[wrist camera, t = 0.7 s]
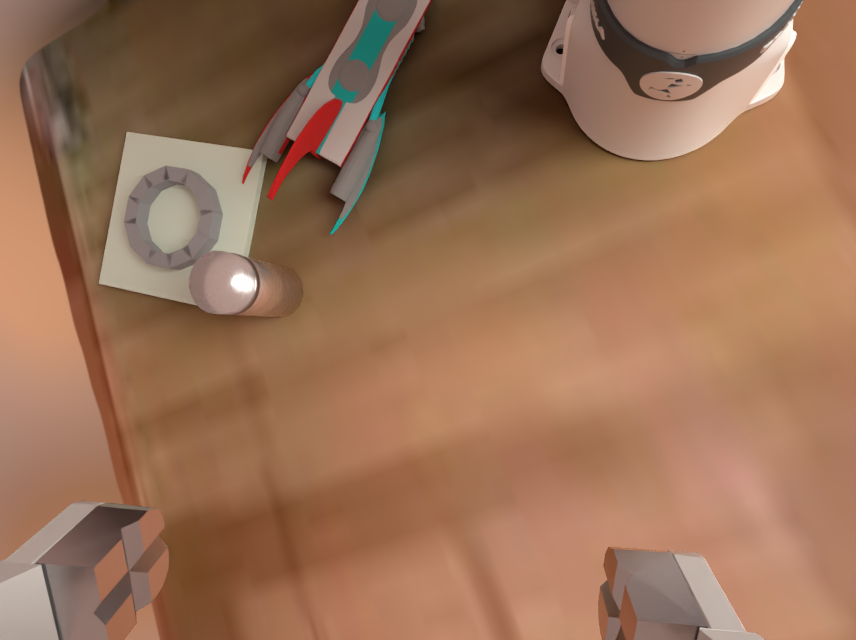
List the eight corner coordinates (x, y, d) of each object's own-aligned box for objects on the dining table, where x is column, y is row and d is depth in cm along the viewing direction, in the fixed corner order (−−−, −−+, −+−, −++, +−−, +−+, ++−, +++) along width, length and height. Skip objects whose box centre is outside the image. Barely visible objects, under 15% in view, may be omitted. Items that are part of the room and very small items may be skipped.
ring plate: (132, 134, 56) (115, 126, 53) (268, 154, 52) (255, 146, 50) (104, 284, 56) (86, 282, 54) (237, 313, 52) (223, 312, 50)
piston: (261, 261, 52) (194, 244, 42) (308, 270, 51) (251, 255, 41) (251, 312, 52) (182, 307, 42) (298, 322, 51) (238, 320, 41)
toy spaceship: (370, -68, 51) (357, -115, 46) (476, -27, 50) (474, -71, 44) (243, 185, 51) (215, 166, 46) (344, 234, 50) (327, 220, 44)
